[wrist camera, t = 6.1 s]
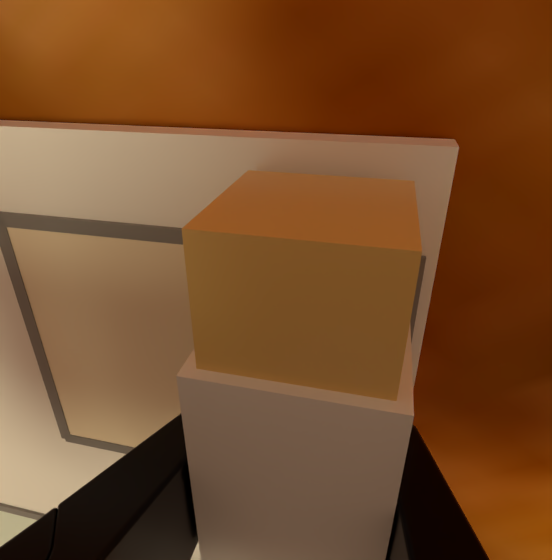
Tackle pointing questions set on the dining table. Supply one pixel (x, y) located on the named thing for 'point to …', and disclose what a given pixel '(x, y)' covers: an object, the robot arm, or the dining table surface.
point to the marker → (299, 364)
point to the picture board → (136, 278)
